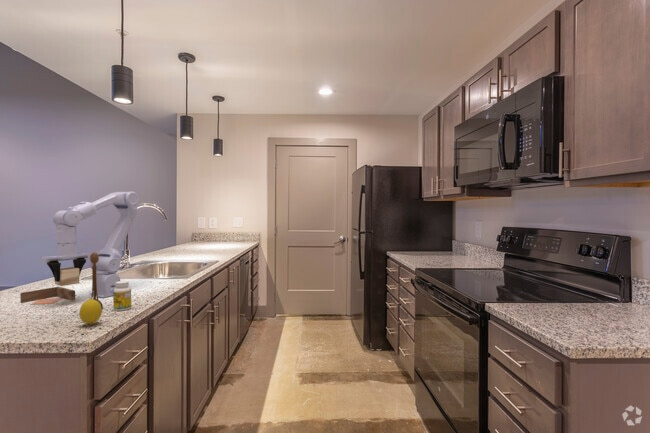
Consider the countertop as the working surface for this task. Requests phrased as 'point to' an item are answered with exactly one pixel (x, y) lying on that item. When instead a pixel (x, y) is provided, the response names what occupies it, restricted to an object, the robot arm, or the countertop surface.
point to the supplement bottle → (122, 296)
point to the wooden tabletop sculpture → (94, 277)
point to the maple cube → (68, 276)
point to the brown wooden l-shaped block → (47, 294)
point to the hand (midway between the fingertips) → (67, 279)
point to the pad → (46, 301)
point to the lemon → (90, 311)
